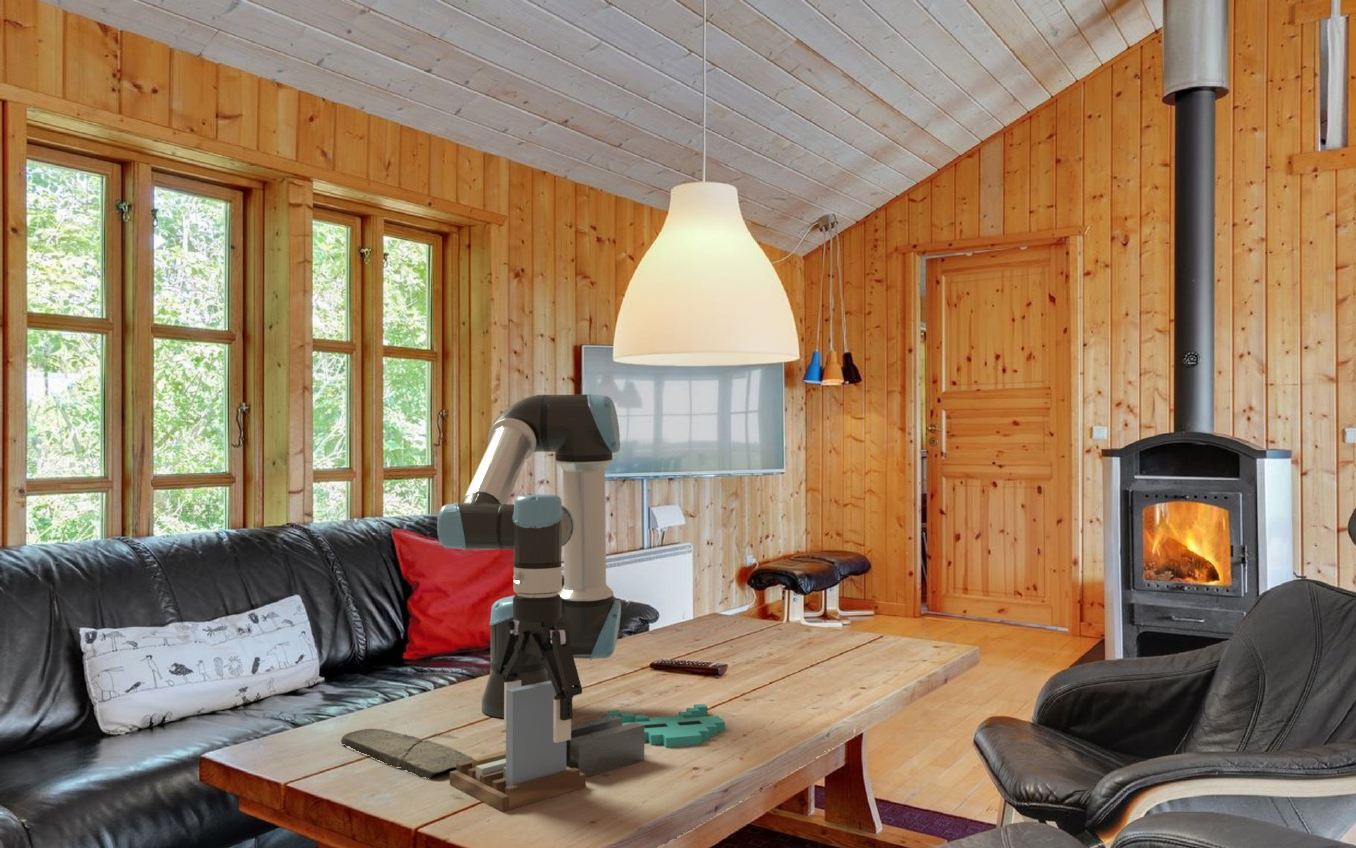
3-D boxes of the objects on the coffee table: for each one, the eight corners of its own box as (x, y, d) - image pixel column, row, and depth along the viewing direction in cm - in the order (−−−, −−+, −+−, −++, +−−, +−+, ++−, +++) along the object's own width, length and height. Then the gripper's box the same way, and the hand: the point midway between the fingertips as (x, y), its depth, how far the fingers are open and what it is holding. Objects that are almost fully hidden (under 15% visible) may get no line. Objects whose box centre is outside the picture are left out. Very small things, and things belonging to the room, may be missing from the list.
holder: (549, 766, 163) (549, 731, 163) (613, 749, 173) (613, 715, 173) (578, 779, 157) (578, 742, 157) (644, 760, 167) (644, 725, 167)
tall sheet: (505, 801, 147) (506, 689, 148) (559, 786, 154) (559, 678, 155) (512, 804, 146) (512, 691, 146) (566, 788, 153) (566, 680, 153)
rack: (449, 784, 155) (449, 765, 155) (530, 763, 165) (530, 745, 165) (502, 811, 143) (502, 791, 143) (585, 787, 154) (585, 768, 154)
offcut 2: (475, 791, 152) (475, 766, 152) (534, 775, 159) (534, 751, 160) (481, 794, 151) (481, 769, 151) (540, 778, 158) (540, 753, 158)
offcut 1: (472, 783, 156) (472, 758, 156) (519, 770, 162) (519, 746, 162) (477, 786, 154) (477, 761, 154) (525, 773, 160) (525, 749, 161)
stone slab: (384, 722, 183) (483, 749, 164) (385, 739, 183) (483, 768, 163) (334, 735, 175) (431, 765, 156) (334, 753, 175) (431, 785, 156)
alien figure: (607, 722, 191) (629, 753, 172) (607, 711, 191) (629, 741, 172) (704, 714, 196) (736, 744, 177) (704, 703, 197) (736, 732, 177)
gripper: (474, 588, 157) (473, 719, 157) (564, 605, 139) (563, 754, 138) (514, 583, 163) (513, 711, 162) (605, 600, 144) (605, 744, 143)
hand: (536, 731), depth 150 cm, fingers open, 13 cm apart
